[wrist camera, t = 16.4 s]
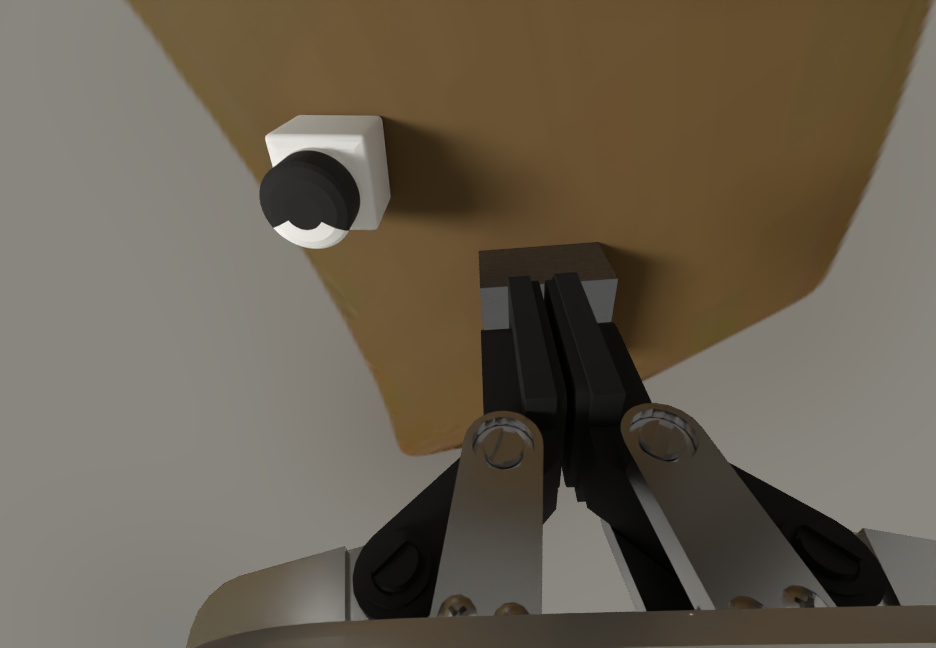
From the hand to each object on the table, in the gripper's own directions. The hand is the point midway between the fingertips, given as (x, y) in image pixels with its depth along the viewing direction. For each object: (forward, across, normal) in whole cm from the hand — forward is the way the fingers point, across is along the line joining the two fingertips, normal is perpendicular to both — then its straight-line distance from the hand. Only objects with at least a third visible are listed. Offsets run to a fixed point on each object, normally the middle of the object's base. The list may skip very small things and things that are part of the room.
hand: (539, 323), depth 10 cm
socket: (+29, -4, +19) cm, 35 cm away
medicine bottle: (+29, +13, +3) cm, 32 cm away
